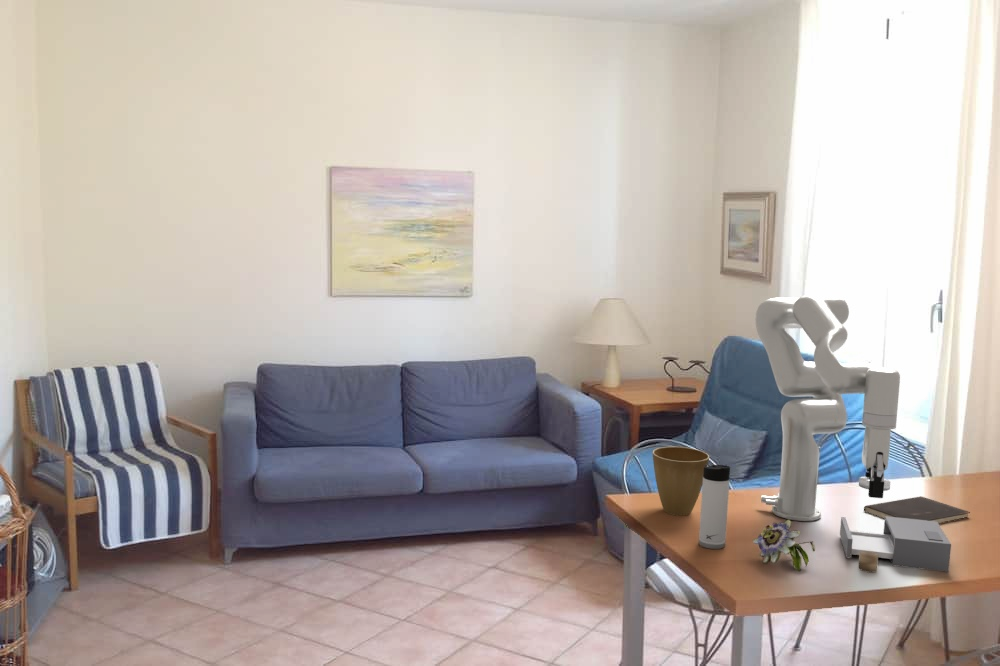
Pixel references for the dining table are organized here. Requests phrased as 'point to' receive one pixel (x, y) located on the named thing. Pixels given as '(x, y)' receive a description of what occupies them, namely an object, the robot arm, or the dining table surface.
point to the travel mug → (714, 506)
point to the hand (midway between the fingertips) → (873, 492)
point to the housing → (918, 543)
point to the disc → (865, 480)
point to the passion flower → (781, 544)
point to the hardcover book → (917, 510)
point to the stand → (868, 561)
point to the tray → (865, 542)
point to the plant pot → (679, 477)
